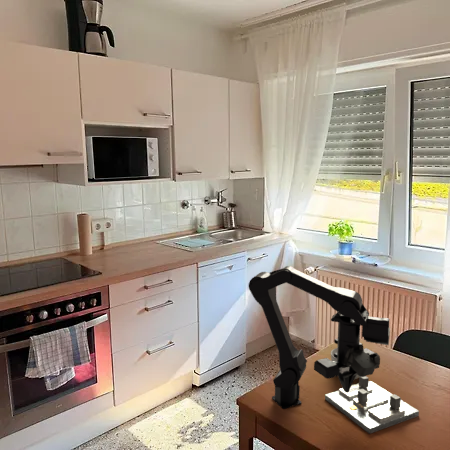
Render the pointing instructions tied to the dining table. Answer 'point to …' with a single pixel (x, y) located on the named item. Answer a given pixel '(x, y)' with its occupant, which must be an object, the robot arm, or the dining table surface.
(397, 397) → the right handle
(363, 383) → the left handle
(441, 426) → the dining table surface
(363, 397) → the handle
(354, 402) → the breaker panel
